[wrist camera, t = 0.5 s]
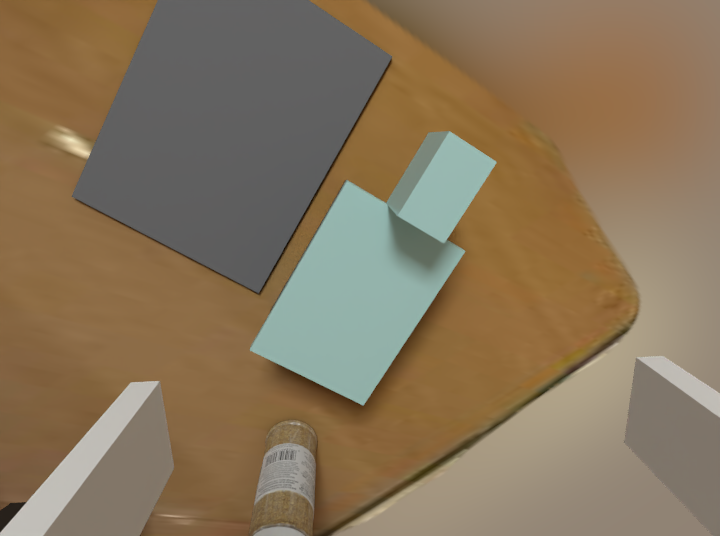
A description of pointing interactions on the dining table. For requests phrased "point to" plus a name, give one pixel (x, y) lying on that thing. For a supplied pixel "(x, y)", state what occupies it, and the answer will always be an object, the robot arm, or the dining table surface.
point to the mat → (229, 127)
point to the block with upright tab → (373, 271)
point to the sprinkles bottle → (286, 482)
